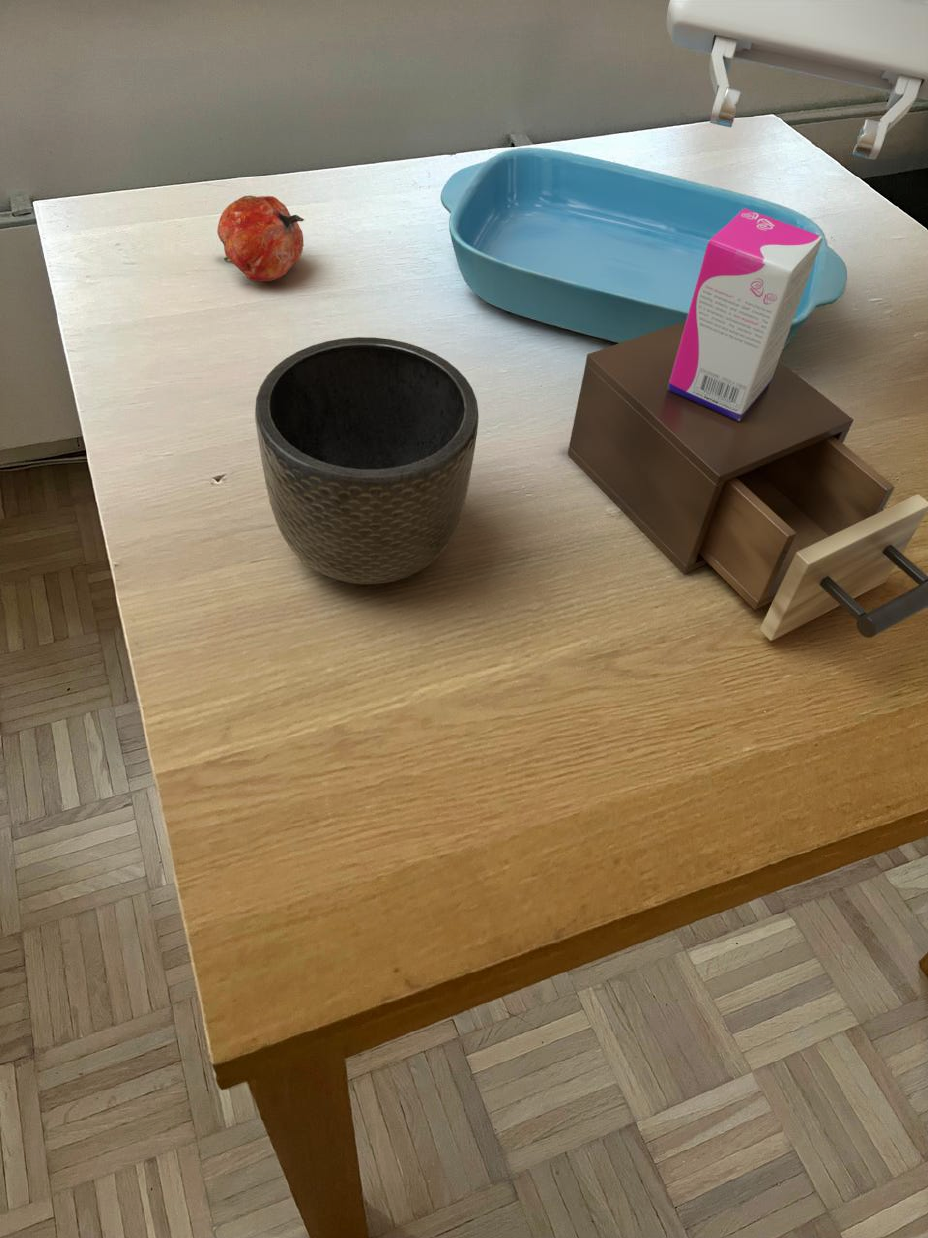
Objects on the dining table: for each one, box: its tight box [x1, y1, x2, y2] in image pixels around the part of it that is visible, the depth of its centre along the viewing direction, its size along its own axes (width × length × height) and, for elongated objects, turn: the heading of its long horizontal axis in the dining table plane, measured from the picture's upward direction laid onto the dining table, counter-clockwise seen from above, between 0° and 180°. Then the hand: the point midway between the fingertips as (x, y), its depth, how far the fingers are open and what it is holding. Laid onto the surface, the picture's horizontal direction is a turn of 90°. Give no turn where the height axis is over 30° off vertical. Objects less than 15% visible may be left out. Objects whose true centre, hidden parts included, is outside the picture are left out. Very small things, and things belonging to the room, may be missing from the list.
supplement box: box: [668, 208, 823, 421], centre depth 68 cm, size 6×6×12 cm
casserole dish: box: [440, 147, 848, 349], centre depth 94 cm, size 37×22×7 cm, turn 72°
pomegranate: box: [216, 194, 306, 282], centre depth 92 cm, size 7×7×10 cm
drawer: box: [699, 436, 928, 642], centre depth 71 cm, size 18×11×8 cm, turn 32°
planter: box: [254, 336, 479, 586], centre depth 68 cm, size 14×14×13 cm
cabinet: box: [567, 321, 854, 575], centre depth 76 cm, size 15×13×10 cm
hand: (792, 137), depth 66 cm, fingers open, 8 cm apart
